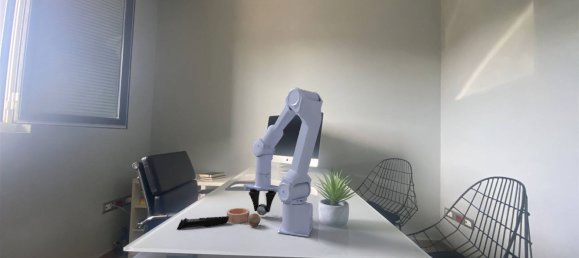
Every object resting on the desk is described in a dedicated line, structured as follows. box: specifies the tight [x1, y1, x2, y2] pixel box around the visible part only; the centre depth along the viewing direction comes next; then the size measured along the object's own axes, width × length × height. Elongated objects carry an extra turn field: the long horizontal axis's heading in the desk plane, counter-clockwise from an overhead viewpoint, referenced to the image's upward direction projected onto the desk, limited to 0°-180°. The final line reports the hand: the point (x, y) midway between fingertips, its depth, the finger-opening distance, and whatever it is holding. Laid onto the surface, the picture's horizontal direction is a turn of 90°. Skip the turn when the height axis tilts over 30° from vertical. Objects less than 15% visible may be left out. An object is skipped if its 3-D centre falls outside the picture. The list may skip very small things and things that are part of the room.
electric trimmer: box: [176, 216, 229, 231], centre depth 74 cm, size 4×16×3 cm, turn 107°
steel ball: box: [256, 203, 268, 216], centre depth 84 cm, size 4×4×4 cm
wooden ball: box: [247, 212, 261, 228], centre depth 75 cm, size 4×4×4 cm
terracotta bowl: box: [226, 207, 251, 224], centre depth 81 cm, size 8×8×3 cm
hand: (262, 211), depth 84 cm, fingers closed on steel ball, 4 cm apart
